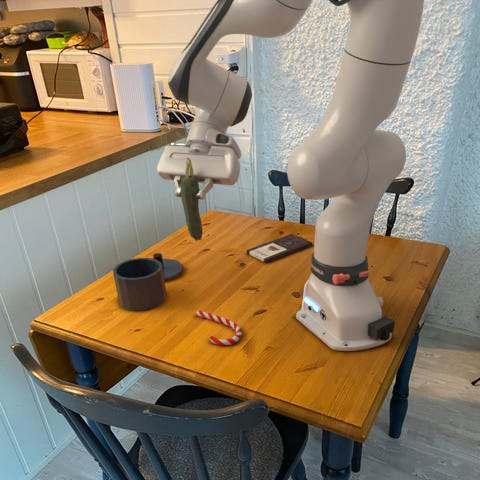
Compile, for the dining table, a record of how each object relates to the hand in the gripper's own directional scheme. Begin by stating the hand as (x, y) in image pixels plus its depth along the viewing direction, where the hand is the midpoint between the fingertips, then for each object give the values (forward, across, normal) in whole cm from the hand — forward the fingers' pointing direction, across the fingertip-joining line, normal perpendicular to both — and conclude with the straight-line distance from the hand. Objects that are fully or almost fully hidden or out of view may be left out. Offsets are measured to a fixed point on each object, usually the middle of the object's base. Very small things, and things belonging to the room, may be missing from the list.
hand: (189, 197), depth 109 cm
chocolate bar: (-3, +13, +36) cm, 39 cm away
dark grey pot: (+24, -10, +9) cm, 27 cm away
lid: (+14, -13, +18) cm, 26 cm away
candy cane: (+29, +13, +5) cm, 32 cm away
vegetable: (+8, 0, +9) cm, 12 cm away
